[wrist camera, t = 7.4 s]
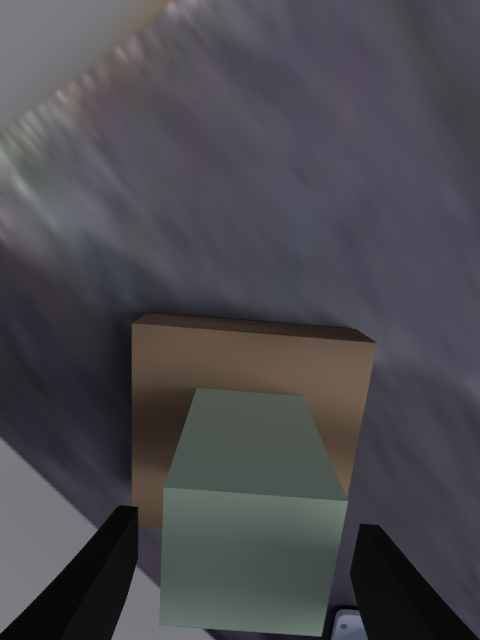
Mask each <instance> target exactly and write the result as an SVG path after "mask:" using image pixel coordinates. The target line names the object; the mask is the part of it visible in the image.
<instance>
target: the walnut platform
mask: <svg viewBox="0 0 480 640" xmlns="http://www.w3.org/2000/svg"><path fill="white" fill-rule="evenodd" d="M376 346H377V343H376V342H375V341H373V340H372V339H370V338H369V337H367V336H366V335H364V334H363V333H361V332H360V331H358V330H357V329H349V328H337V327H325V326H313V325H300V324H288V323H276V322H263V321H251V320H239V319H227V318H214V317H202V316H190V315H177V314H165V313H153V312H149V313H147V314H146V315H144V316H142V317H141V318H139V319H138V320H136V321H135V322H133V323H132V506H133V507H138V526H148V527H162V524H163V491H164V485H165V482H166V479H167V476H168V473H169V470H170V467H171V464H172V461H173V458H174V455H175V452H176V449H177V446H178V443H179V440H180V437H181V434H182V431H183V428H184V425H185V422H186V419H187V416H188V413H189V410H190V407H191V404H192V401H193V398H194V395H195V392H196V389H197V388H207V389H219V390H232V391H244V392H257V393H269V394H282V395H294V396H303V397H304V399H305V402H306V404H307V406H308V409H309V411H310V413H311V416H312V418H313V420H314V423H315V425H316V427H317V430H318V432H319V434H320V437H321V439H322V441H323V444H324V446H325V448H326V451H327V453H328V455H329V458H330V460H331V462H332V465H333V467H334V469H335V472H336V474H337V476H338V479H339V481H340V483H341V486H342V488H343V490H344V493H345V495H346V498H347V496H348V490H349V485H350V480H351V475H352V470H353V465H354V459H355V454H356V449H357V444H358V439H359V434H360V429H361V423H362V418H363V413H364V408H365V403H366V398H367V392H368V387H369V382H370V377H371V372H372V367H373V362H374V356H375V351H376Z"/></svg>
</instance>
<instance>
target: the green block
mask: <svg viewBox="0 0 480 640" xmlns="http://www.w3.org/2000/svg"><path fill="white" fill-rule="evenodd" d="M347 505H348V500H347V498H346V495H345V493H344V490H343V488H342V486H341V483H340V481H339V479H338V476H337V474H336V472H335V469H334V467H333V465H332V462H331V460H330V458H329V455H328V453H327V451H326V448H325V446H324V444H323V441H322V439H321V437H320V434H319V432H318V430H317V427H316V425H315V423H314V420H313V418H312V416H311V413H310V411H309V409H308V406H307V404H306V402H305V399H304V397H303V396H294V395H282V394H269V393H257V392H244V391H232V390H219V389H207V388H197V389H196V392H195V395H194V398H193V401H192V404H191V407H190V410H189V413H188V416H187V419H186V422H185V425H184V428H183V431H182V434H181V437H180V440H179V443H178V446H177V449H176V452H175V455H174V458H173V461H172V464H171V467H170V470H169V473H168V476H167V479H166V482H165V485H164V491H163V524H162V557H161V591H160V624H159V625H163V626H177V627H193V628H206V629H220V630H234V631H249V632H263V633H277V634H292V635H306V636H320V637H321V636H322V631H323V626H324V621H325V616H326V611H327V606H328V601H329V596H330V591H331V586H332V581H333V576H334V571H335V565H336V560H337V555H338V550H339V545H340V540H341V535H342V530H343V525H344V520H345V515H346V510H347Z"/></svg>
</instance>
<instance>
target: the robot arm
mask: <svg viewBox="0 0 480 640" xmlns="http://www.w3.org/2000/svg"><path fill="white" fill-rule="evenodd" d="M137 560H138V507H133V506H118V507H117V508H116V509H115V510H114V511H113V513H112V514H111V515H110V516H109V518H108V519H107V520H106V521H105V522H104V524H103V525H102V526H101V527H100V528H99V530H98V531H97V532H96V533H95V534H94V536H93V537H92V538H91V539H90V540H89V541H88V542H87V544H86V545H85V546H84V547H83V548H82V549H81V551H80V552H79V553H78V554H77V555H76V556H75V557H74V559H72V561H71V562H70V563H69V564H68V565H67V566H66V567H65V568H64V570H63V571H62V572H61V573H60V574H59V575H58V576H57V577H56V578H55V579H54V580H53V581H52V582H51V583H50V584H49V585H48V587H46V588H45V590H44V591H43V592H42V593H41V594H40V595H39V596H38V597H37V598H36V599H35V600H34V601H33V602H32V603H31V604H30V605H29V606H28V607H27V608H26V609H25V610H24V611H23V612H22V613H21V614H20V615H19V616H18V617H17V618H16V619H15V620H14V621H13V622H12V623H11V624H10V625H9V626H8V627H7V628H6V629H5V630H4V631H3V632H2V633H1V634H0V640H111V638H112V636H113V633H114V630H115V628H116V625H117V622H118V620H119V617H120V614H121V611H122V609H123V606H124V603H125V601H126V598H127V595H128V591H129V588H130V584H131V581H132V577H133V574H134V570H135V567H136V563H137ZM350 576H351V580H352V585H353V589H354V593H355V597H356V601H357V605H358V609H359V610H348V609H341V610H339V611H338V612H337V613H336V616H335V621H334V626H333V631H332V635H331V640H479V638H478V637H477V636H476V635H475V634H474V633H473V632H472V631H471V630H470V629H469V628H468V627H467V626H466V625H465V624H464V623H463V622H462V620H461V619H460V618H459V617H458V616H457V615H456V614H455V613H454V612H453V611H452V609H451V608H450V607H449V606H448V605H447V604H446V603H445V602H444V601H443V599H442V598H441V597H440V596H439V595H438V594H437V593H436V592H435V590H434V589H433V588H432V587H431V586H430V585H429V584H428V582H427V581H426V580H425V579H424V578H423V577H422V575H421V574H420V573H419V572H418V571H417V570H416V568H415V567H414V566H413V565H412V564H411V563H410V561H409V560H408V559H407V558H406V557H405V555H404V554H403V553H402V552H401V551H400V549H399V548H398V547H397V546H396V545H395V544H394V542H393V541H392V540H391V539H390V538H389V536H388V535H387V534H386V533H385V532H384V530H383V529H382V528H381V527H380V526H379V525H371V524H360V527H359V532H358V537H357V541H356V546H355V551H354V556H353V561H352V566H351V570H350Z"/></svg>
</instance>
